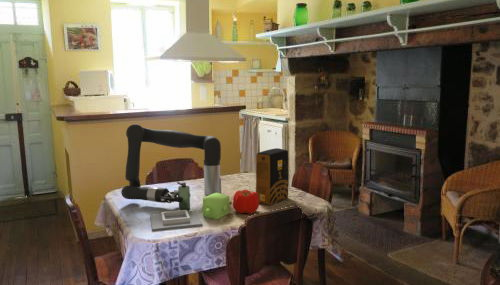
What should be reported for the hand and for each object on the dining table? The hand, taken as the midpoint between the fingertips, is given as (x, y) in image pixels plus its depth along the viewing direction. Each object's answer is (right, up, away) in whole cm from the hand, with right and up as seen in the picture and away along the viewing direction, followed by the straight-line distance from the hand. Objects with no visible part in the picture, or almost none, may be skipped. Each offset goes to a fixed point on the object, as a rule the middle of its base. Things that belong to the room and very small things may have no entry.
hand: (185, 197), depth 203 cm
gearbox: (+16, -8, -7) cm, 19 cm away
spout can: (-1, -6, +1) cm, 7 cm away
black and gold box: (+45, -4, +17) cm, 48 cm away
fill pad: (-3, -9, -15) cm, 17 cm away
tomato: (+30, -7, -2) cm, 31 cm away
